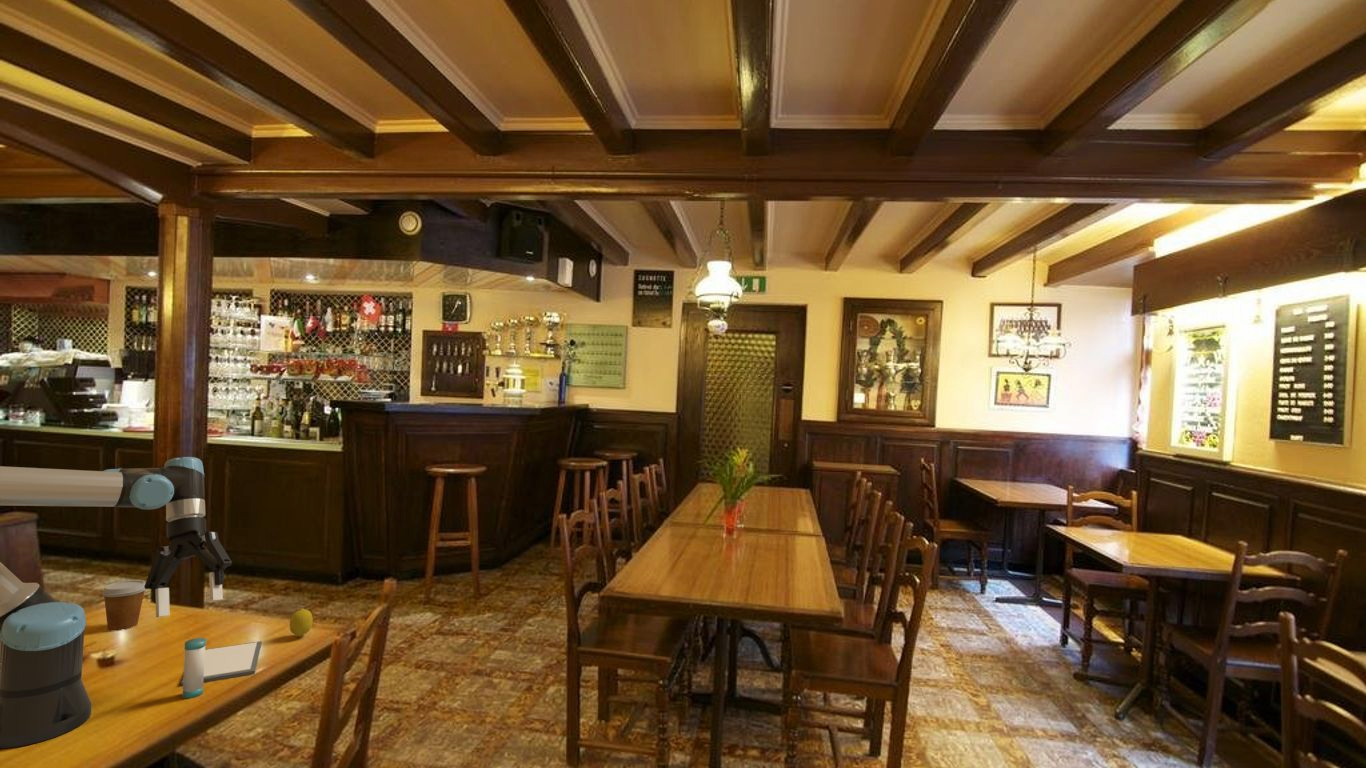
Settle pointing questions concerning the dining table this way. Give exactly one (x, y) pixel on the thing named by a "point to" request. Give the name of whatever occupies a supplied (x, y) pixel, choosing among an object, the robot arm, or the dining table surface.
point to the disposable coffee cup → (123, 603)
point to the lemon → (301, 622)
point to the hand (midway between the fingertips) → (189, 608)
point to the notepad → (230, 661)
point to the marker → (194, 667)
